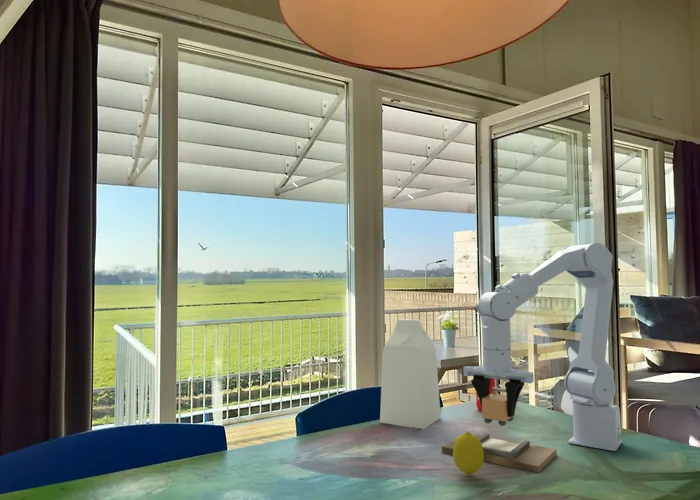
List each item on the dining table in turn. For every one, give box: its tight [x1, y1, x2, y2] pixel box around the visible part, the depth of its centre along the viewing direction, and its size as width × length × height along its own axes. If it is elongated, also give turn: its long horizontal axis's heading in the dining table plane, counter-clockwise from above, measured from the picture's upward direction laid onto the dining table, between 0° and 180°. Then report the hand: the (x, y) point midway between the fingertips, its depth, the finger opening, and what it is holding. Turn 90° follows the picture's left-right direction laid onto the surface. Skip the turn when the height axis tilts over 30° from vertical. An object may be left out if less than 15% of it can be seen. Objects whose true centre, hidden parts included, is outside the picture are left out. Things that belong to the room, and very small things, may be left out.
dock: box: [441, 432, 557, 473], centre depth 106 cm, size 20×12×2 cm, turn 53°
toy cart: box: [481, 387, 516, 427], centre depth 108 cm, size 6×5×6 cm
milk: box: [379, 318, 441, 430], centre depth 134 cm, size 12×12×26 cm
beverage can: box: [475, 365, 496, 413], centre depth 143 cm, size 5×5×12 cm
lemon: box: [452, 431, 484, 477], centre depth 95 cm, size 6×6×8 cm
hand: (498, 414), depth 107 cm, fingers closed on toy cart, 5 cm apart
